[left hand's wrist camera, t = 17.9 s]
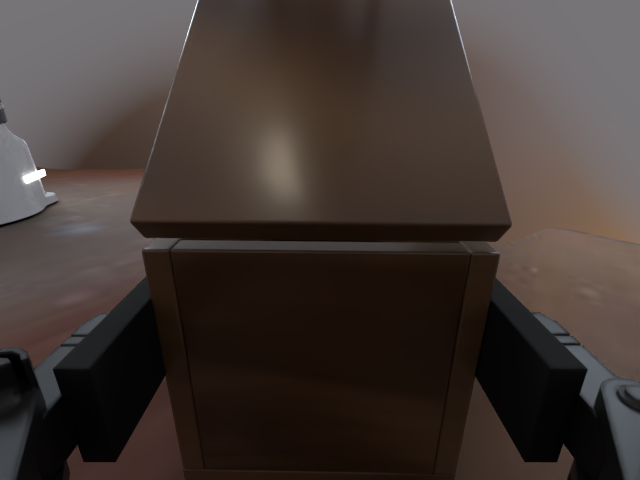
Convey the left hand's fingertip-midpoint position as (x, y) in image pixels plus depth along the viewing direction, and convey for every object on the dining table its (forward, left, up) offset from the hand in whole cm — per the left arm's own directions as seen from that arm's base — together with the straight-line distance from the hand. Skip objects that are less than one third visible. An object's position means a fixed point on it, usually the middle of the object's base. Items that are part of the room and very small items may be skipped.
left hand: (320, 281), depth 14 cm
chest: (+4, -3, -6) cm, 8 cm away
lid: (+2, -2, +9) cm, 10 cm away
